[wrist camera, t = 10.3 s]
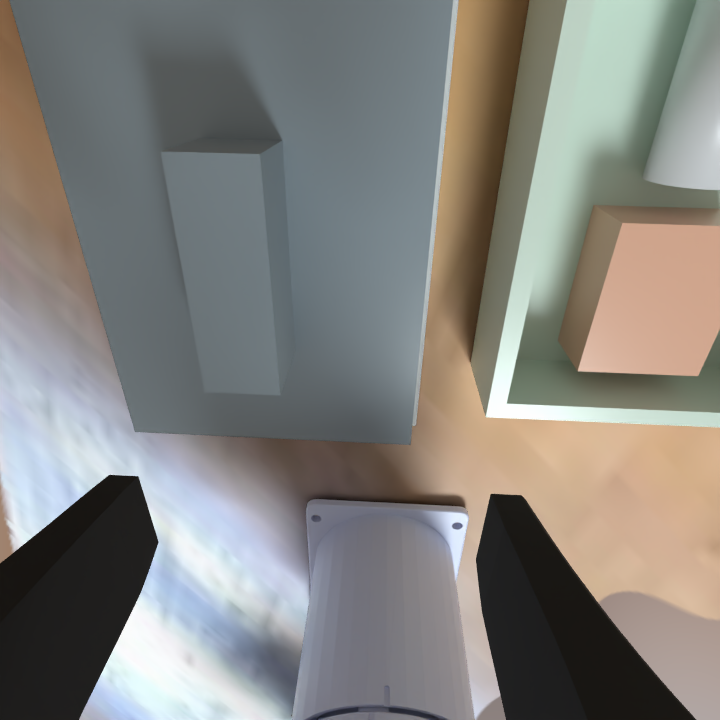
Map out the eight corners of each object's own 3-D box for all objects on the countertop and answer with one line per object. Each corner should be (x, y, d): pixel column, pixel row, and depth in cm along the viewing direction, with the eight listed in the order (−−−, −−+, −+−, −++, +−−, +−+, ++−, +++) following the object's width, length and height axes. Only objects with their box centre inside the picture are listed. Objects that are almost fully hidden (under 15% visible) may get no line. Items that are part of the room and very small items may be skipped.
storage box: (722, 374, 19) (785, 430, 16) (470, 363, 19) (485, 417, 16) (956, -103, 12) (1152, -165, 9) (546, -106, 12) (599, -167, 9)
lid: (409, 423, 20) (413, 497, 17) (149, 411, 21) (100, 481, 17) (451, -36, 12) (476, -81, 9) (30, -42, 13) (-109, -88, 9)
